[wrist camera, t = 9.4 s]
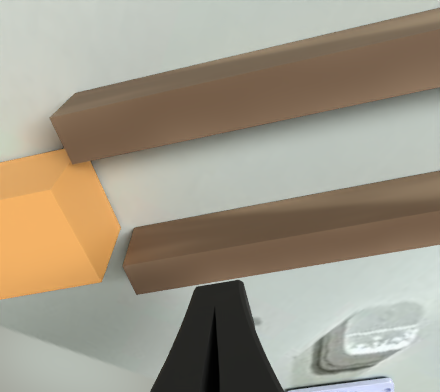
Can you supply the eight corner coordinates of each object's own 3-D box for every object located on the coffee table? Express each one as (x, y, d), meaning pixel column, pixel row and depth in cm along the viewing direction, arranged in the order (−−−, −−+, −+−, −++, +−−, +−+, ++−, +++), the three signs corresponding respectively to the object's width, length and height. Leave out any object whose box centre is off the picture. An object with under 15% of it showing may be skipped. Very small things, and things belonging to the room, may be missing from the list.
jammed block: (120, 227, 20) (101, 282, 17) (35, 243, 21) (0, 299, 17) (82, 144, 18) (50, 189, 14) (-15, 165, 18) (-67, 213, 15)
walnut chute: (560, 181, 19) (612, 215, 16) (145, 255, 22) (136, 294, 19) (627, -37, 14) (717, -35, 11) (75, 93, 16) (49, 118, 14)
